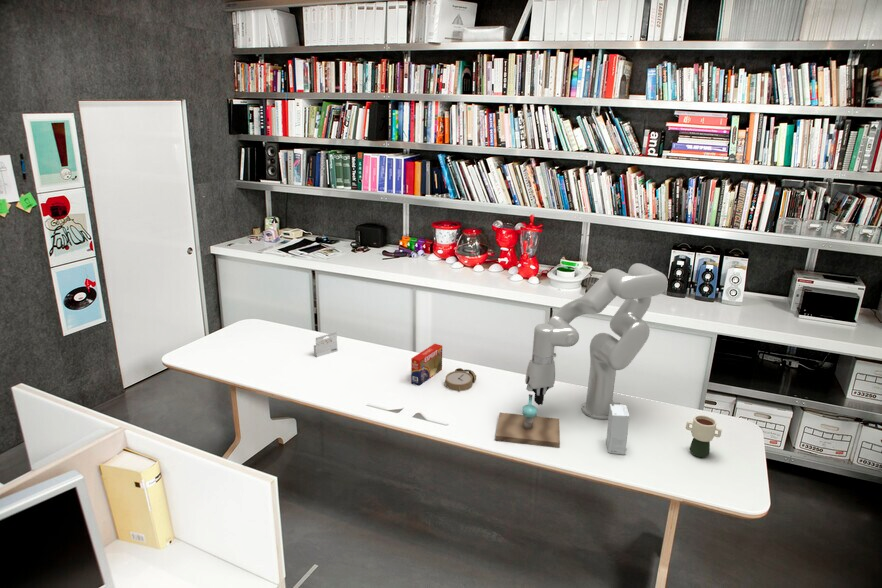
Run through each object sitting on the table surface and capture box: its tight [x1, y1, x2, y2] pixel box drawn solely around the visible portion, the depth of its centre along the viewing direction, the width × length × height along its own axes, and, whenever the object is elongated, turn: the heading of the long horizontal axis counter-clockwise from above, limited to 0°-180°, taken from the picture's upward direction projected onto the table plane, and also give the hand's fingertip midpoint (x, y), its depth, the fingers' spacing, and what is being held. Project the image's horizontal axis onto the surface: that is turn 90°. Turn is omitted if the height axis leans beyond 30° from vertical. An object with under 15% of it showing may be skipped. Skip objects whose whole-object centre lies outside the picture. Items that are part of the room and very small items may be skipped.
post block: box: [495, 412, 561, 448], centre depth 212 cm, size 22×16×7 cm
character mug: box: [685, 414, 723, 458], centre depth 200 cm, size 11×7×13 cm, turn 64°
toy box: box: [410, 343, 443, 387], centre depth 250 cm, size 18×4×12 cm, turn 149°
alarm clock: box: [444, 367, 477, 392], centre depth 247 cm, size 11×5×15 cm
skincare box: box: [605, 404, 630, 456], centre depth 202 cm, size 8×6×15 cm
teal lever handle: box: [521, 393, 538, 418], centre depth 214 cm, size 12×5×5 cm, turn 170°
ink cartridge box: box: [313, 331, 339, 358], centre depth 271 cm, size 2×11×10 cm, turn 130°
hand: (538, 403), depth 218 cm, fingers closed
